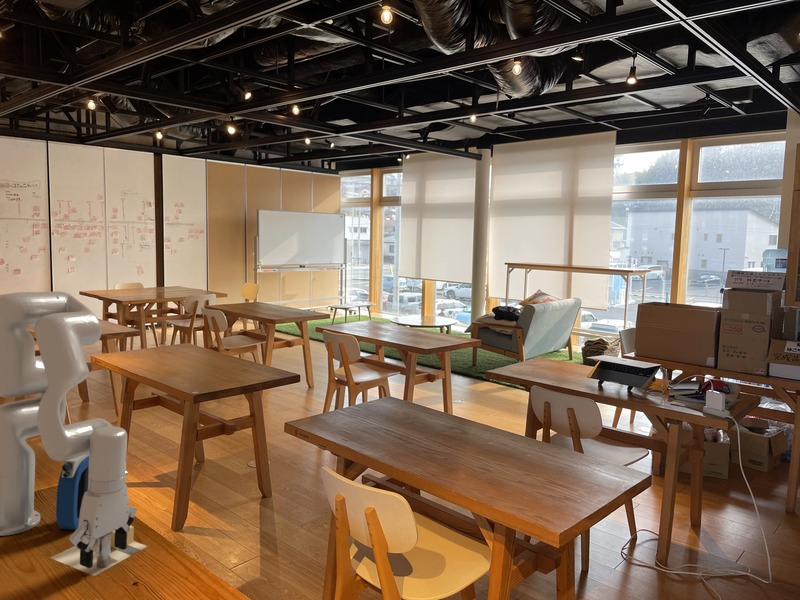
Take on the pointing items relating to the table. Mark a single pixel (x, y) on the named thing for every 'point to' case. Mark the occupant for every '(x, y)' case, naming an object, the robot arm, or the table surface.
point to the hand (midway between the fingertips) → (103, 556)
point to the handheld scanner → (71, 491)
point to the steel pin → (103, 551)
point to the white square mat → (73, 557)
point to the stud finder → (129, 537)
